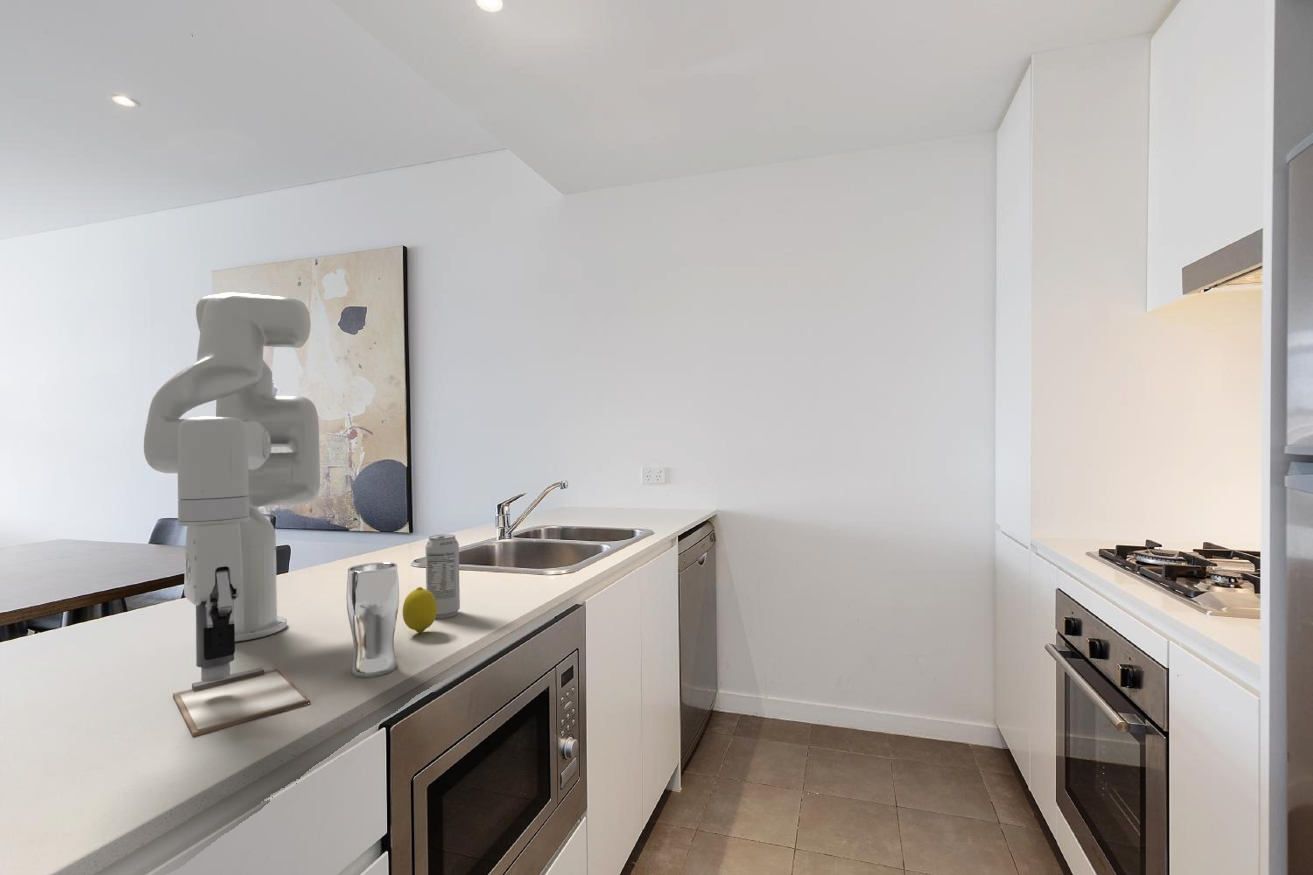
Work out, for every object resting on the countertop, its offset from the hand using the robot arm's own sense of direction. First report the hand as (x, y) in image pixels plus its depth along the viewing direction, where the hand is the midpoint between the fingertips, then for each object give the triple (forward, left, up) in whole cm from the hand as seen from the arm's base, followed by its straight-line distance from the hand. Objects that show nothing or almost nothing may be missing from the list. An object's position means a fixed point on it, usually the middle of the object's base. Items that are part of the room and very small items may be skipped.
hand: (215, 651), depth 80 cm
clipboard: (+3, +2, -6) cm, 7 cm away
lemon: (-7, +30, -6) cm, 32 cm away
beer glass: (+5, +18, -6) cm, 20 cm away
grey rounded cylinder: (0, 0, -3) cm, 3 cm away
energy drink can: (-15, +38, -6) cm, 42 cm away
